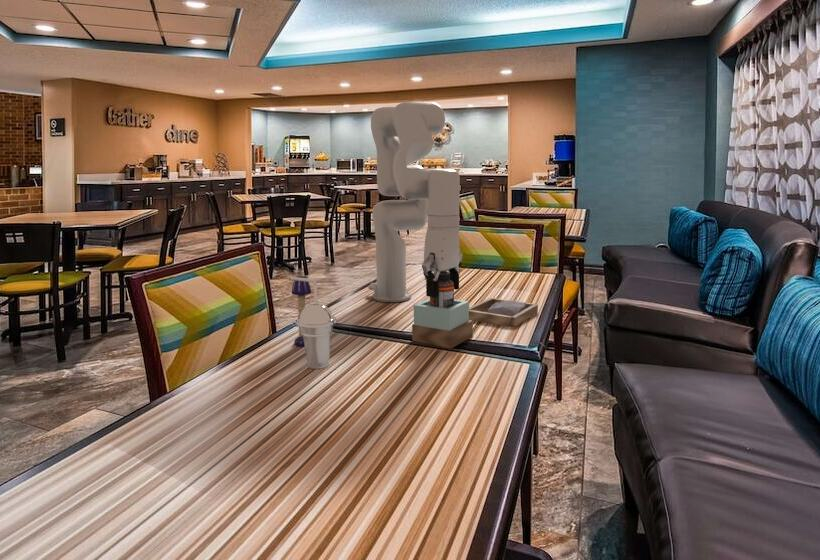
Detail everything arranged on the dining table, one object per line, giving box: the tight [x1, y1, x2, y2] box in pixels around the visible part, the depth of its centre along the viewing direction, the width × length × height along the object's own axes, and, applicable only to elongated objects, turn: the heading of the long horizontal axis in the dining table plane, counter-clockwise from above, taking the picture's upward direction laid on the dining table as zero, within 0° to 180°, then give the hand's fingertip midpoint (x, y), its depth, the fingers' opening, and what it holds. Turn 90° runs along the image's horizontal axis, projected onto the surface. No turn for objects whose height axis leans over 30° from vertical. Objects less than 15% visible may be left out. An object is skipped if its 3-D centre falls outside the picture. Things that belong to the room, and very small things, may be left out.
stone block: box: [486, 300, 527, 316], centre depth 156 cm, size 12×5×10 cm
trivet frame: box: [469, 297, 539, 327], centre depth 156 cm, size 15×17×2 cm
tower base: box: [411, 320, 474, 349], centre depth 136 cm, size 11×11×4 cm
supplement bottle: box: [429, 270, 455, 309], centre depth 133 cm, size 6×6×11 cm
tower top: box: [413, 298, 470, 331], centre depth 134 cm, size 10×10×5 cm
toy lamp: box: [291, 275, 312, 347], centre depth 131 cm, size 5×5×17 cm
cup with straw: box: [288, 276, 337, 370], centre depth 116 cm, size 8×9×20 cm
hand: (443, 292), depth 133 cm, fingers open, 9 cm apart
